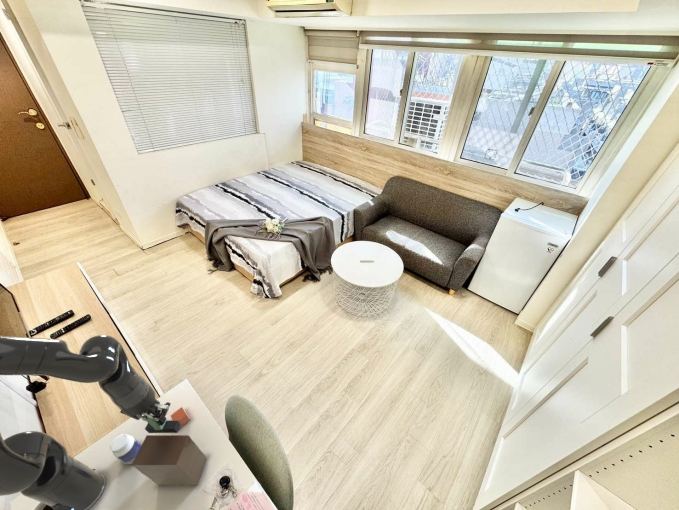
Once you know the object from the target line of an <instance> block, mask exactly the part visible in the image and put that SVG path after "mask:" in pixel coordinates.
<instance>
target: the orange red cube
mask: <svg viewBox="0 0 679 510" xmlns="http://www.w3.org/2000/svg"><path fill="white" fill-rule="evenodd" d="M170 418H171V421H173V420H178V421H179V423H180V424H181V426H180V428H179V429H181V428H182V427H183V426H184V425H186V424H187V423H189V422H190V421H191V418H190V416H189V415H188V413H187V411H186V410H185V409H184V407H183V406H181V407H180V408H178V409H177V410H175V412H173V413H172V414H171V415H170Z"/></svg>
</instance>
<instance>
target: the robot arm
mask: <svg viewBox="0 0 679 510" xmlns="http://www.w3.org/2000/svg"><path fill="white" fill-rule="evenodd" d="M0 376H46V377H51V378H55V379H61V380H66V381H71V382H75V383H81V384H94V383H98V387H99V389H100V390H101V391H102V392H103V393H105V395H107V397H108V398H109V399H110V400H111V402H112V403H113V404H114V405H115V406H116V407H117V408H118V409H119V410H120V411H119V413H120V414H123V415H125V416H127V417H129V418H131V419H134V420H135V421H140V419H141V420H142V421H143V422H147V421H146V418H147V417H149V418H150V419H152V418H153V419H154V420H155V421H156V422H157V423H158V424H159V425H163V424H164V422H165V420H166V419H167V417H166V416H167V414H168V413H169V410H170V406H171V402H165V403H163V404H162V403H161V402H160V401H159V400H158V399H156V391H155V390H154V389H153V387H152V386H151V385H150V384H149V382H147V380H146V379H145V377H144V376H142V375H140V373H139V372H138V371H137V370H136V369H135V368H134V366H133V365H132V364H131V363H130V361H129V358H128V356H127V353H126V351H125V349H124V347H123V345H122V343H121V342H120V341H119V340H118V339H117V338H115V337H113V336H111V335H107V334H98V335H95V336H92V337H90V338H88V339H87V340H85V341H84V342H83V344H82V345H81V347H80V349H79V353H75V352H73V351H71V350H70V349H69V346H68V343H67V342H66V341H65V340H63V339H58V338H45V337H43V338H42V337H29V336H28V337H27V336H12V335H11V336H10V335H1V334H0ZM106 480H107V479H106V477H105V476H104V475H103V474H101V473H99V472H97V471H96V468H91V467H89V466H88V465H86V464H84V463H83V462H81V461H79V460H77V458H75V457H72V455H70V454H68V451H67V448H66V447H65V446H64V445H63V444H62V443H60V442H59V441H58V440H57V439H55V438H54V437H53V436H51V435H50V434H48V433H45V432H43V431H37V430H29V431H21V432H19V433H16V434H13V435H10V436H8V437H6V438H5V439H4V438H3V435H2V433H1V432H0V497H2V496H3V497H4V496H11V495H15V494H18V493H20V494H21V495H22V496H24V497H27V498H29V499H32V500H34V501H37V502H39V503H41V504H44V505H47V506H49V507H51V508H52V510H90V509H91V508H92V507H93V506H94V505H95V504H96V503H97V502H98V500H99V499H100V498H101V497H102V495H103V493H104V491H105V489H106V483H107V481H106Z"/></svg>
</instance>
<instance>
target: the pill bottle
mask: <svg viewBox="0 0 679 510" xmlns="http://www.w3.org/2000/svg"><path fill="white" fill-rule="evenodd" d="M141 445H142V443H140V442H139V441H138V440H137V439H136V438H135V437H134V436H132V435H128V434H126V433H121V434H119V435H117V436H116V437H114V439H112V441H111V443H110V445H109V448H110V451H111V452H112V455H113V456H114V457H115V458H117V459H118V460H119V461H120V462H122V463H123V464H124V465H132V463H133V461H134V459H135V457H136V455H137V453H138V451H139V449H140V447H141Z"/></svg>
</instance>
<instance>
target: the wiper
mask: <svg viewBox="0 0 679 510" xmlns="http://www.w3.org/2000/svg"><path fill="white" fill-rule="evenodd" d="M145 422H146V423H147V424H146V426H145V427H144V430H145V432H147V433H148V434H178V433H179V431H180V429H181V428H180V426H181V424H180V423H179V421H178V420H168V419H167V418H166V420H165V422H164V424H163V425H159V424H158V423H157V422H156V421H155V420H154V419H153V418H152V419H150V418H149V417H147V418H146V421H145Z"/></svg>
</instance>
